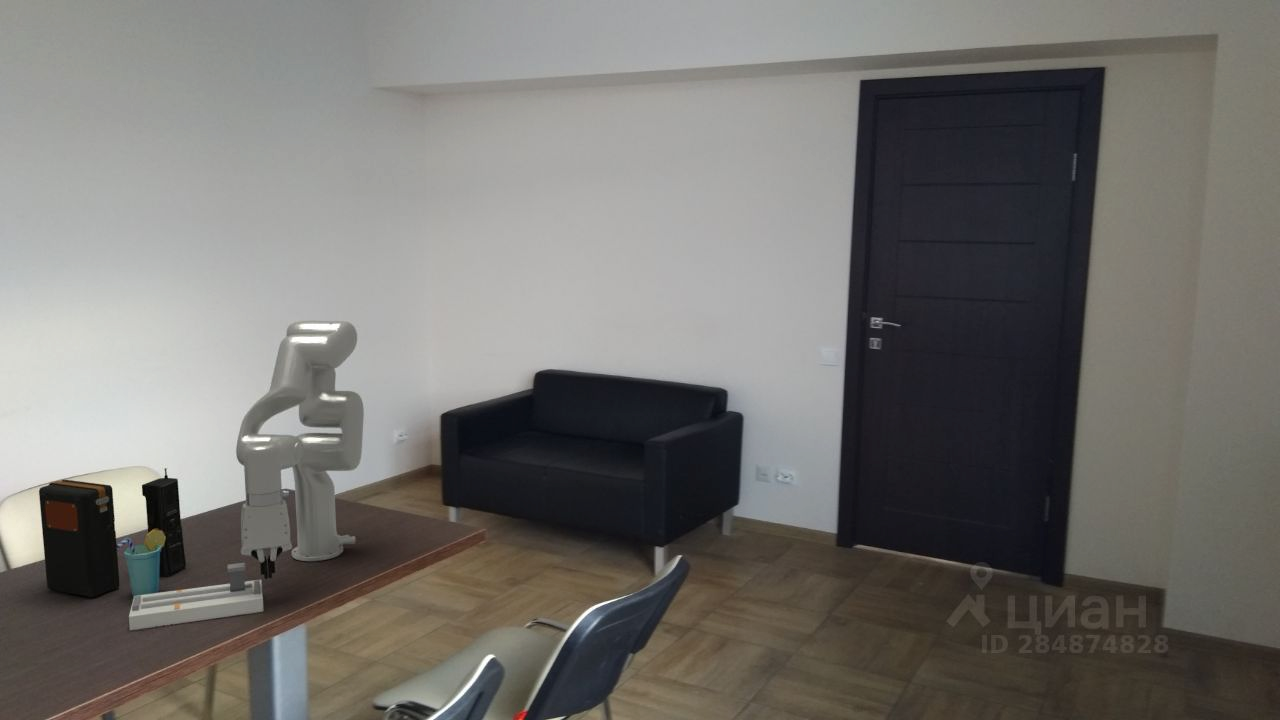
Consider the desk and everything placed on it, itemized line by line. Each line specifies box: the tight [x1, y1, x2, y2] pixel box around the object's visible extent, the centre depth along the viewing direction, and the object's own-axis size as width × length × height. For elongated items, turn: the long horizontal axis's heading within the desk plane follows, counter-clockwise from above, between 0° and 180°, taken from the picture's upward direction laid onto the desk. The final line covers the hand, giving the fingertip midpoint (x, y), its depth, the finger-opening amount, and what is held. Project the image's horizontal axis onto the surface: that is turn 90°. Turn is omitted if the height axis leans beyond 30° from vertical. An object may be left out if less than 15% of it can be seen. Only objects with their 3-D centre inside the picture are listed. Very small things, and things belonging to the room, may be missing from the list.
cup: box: [116, 529, 166, 598], centre depth 216 cm, size 14×8×15 cm, turn 171°
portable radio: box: [141, 468, 187, 577], centre depth 229 cm, size 8×6×25 cm
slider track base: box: [128, 579, 264, 631], centre depth 209 cm, size 26×12×4 cm, turn 113°
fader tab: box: [227, 562, 246, 592], centre depth 211 cm, size 4×3×6 cm
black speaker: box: [38, 479, 121, 598], centre depth 218 cm, size 16×9×25 cm, turn 71°
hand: (268, 576), depth 214 cm, fingers closed
